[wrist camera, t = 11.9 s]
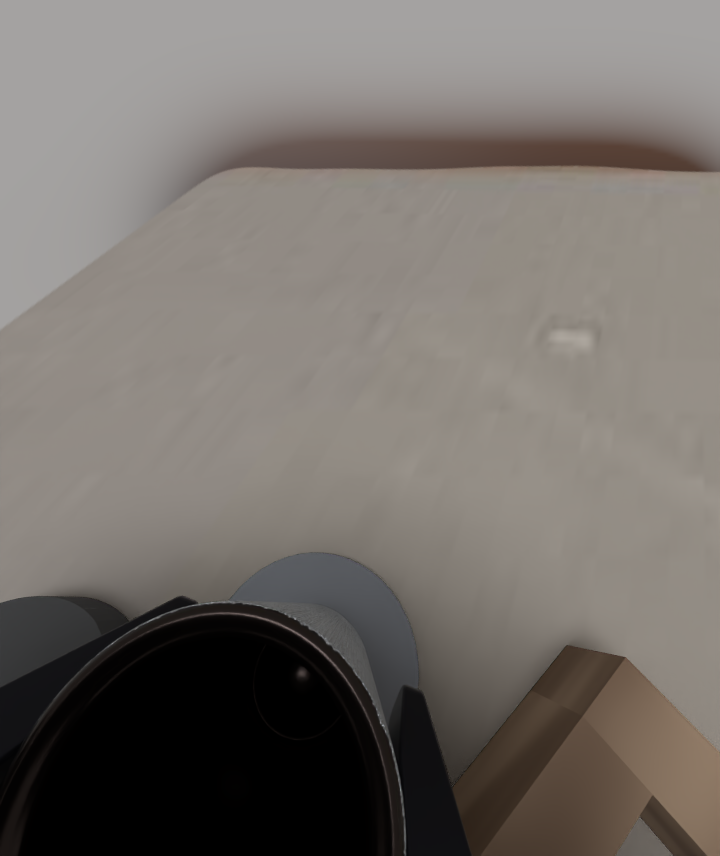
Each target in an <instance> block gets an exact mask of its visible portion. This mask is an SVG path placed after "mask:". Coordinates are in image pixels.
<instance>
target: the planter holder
mask: <svg viewBox="0 0 720 856" xmlns="http://www.w3.org/2000/svg"><path fill="white" fill-rule="evenodd" d="M452 789H453V793H454V796H455V799H456V803H457V806H458V809H459V813H460V816H461V819H462V823H463V826H464V829H465V833H466V836H467V839H468V843H469V846H470V849H471V853H472V856H615V855H616V853H617V852H618V850H619V848H620V847H621V845H622V844H623V842H624V840H625V839H626V837H627V835H628V834H629V832H630V831H631V829H632V827H633V826H634V824H635V823H636V821H637V819H638V818H639V816H640V817H641V818H642V819H643V820H644V822H645V823H646V824H647V825H648V826H649V827H650V829H651V830H652V831H653V832H654V833H655V834H656V835H657V837H658V838H659V839H660V840H661V841H662V842H663V844H664V845H665V846H666V847H667V848H668V849H669V850H670V852H671V853H672V854H673V855H674V856H720V752H719V751H718V750H717V749H716V748H715V747H714V746H713V745H712V744H711V743H710V742H709V741H708V740H707V739H706V738H705V737H704V736H703V735H702V734H701V733H700V732H699V731H698V730H697V729H696V728H695V727H694V726H693V725H692V724H691V723H690V722H689V721H688V720H687V719H686V718H685V717H684V716H683V715H682V714H681V713H680V712H679V711H678V710H677V709H676V708H675V707H674V706H673V705H672V704H671V703H670V702H669V701H668V699H667V698H666V697H665V696H664V695H663V694H662V693H661V692H660V691H659V690H658V689H657V688H656V687H655V686H654V685H653V684H652V683H651V682H650V681H649V680H648V679H647V678H646V677H645V676H644V675H643V674H642V673H641V672H640V671H639V670H638V669H637V668H636V667H635V666H634V665H633V664H632V663H631V662H630V661H629V660H628V659H627V658H626V657H622V656H617V655H612V654H607V653H602V652H597V651H592V650H587V649H582V648H578V647H573V646H568V645H567V646H566V647H565V648H564V650H563V651H562V652H561V653H560V655H559V656H558V657H557V658H556V660H555V661H554V662H553V663H552V665H551V666H550V667H549V668H548V669H547V671H546V672H545V673H544V674H543V676H542V677H541V678H540V679H539V681H538V682H537V683H536V684H535V686H534V687H533V688H532V689H531V691H530V692H529V693H528V694H527V696H526V697H525V698H524V699H523V701H522V702H521V703H520V704H519V706H518V707H517V708H516V709H515V711H514V712H513V713H512V714H511V716H510V717H509V718H508V719H507V720H506V722H505V723H504V724H503V725H502V727H501V728H500V729H499V730H498V732H497V733H496V734H495V735H494V737H493V738H492V739H491V740H490V742H489V743H488V744H487V745H486V747H485V748H484V749H483V750H482V752H481V753H480V754H479V755H478V757H477V758H476V759H475V760H474V762H473V763H472V764H471V765H470V766H469V768H468V769H467V770H466V771H465V773H464V774H463V775H462V776H461V778H460V779H459V780H458V781H457V783H456V784H455V785H454V786H453V788H452Z"/></svg>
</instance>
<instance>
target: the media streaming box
mask: <svg viewBox="0 0 720 856" xmlns="http://www.w3.org/2000/svg"><path fill="white" fill-rule="evenodd" d="M127 622H128V620H127V619H126V618H125V617H124V616H123V615H122V614H121V613H120V612H119V611H118V610H116V609H115V608H113V607H112V606H110V605H108V604H106V603H104V602H101V601H99V600H95V599H91V598H85V597H56V596H34V597H24V598H18V599H14V600H10V601H6V602H3V603H0V687H1V686H3V685H5V684H7V683H9V682H11V681H13V680H15V679H17V678H19V677H21V676H23V675H25V674H27V673H29V672H31V671H33V670H34V669H36V668H38V667H40V666H42V665H44V664H46V663H48V662H50V661H52V660H54V659H56V658H58V657H60V656H62V655H64V654H66V653H68V652H70V651H72V650H74V649H76V648H78V647H80V646H82V645H84V644H86V643H88V642H90V641H92V640H94V639H95V638H97V637H99V636H101V635H103V634H105V633H107V632H109V631H111V630H113V629H115V628H117V627H119V626H121V625H123V624H125V623H127Z"/></svg>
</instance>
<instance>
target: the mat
mask: <svg viewBox="0 0 720 856" xmlns="http://www.w3.org/2000/svg"><path fill="white" fill-rule="evenodd" d="M229 601H263V602H287V603H311V604H318V605H322V606H326V607H328V608H330V609H333V610H334V611H336V612H338V613H339V614H341V615H342V616H343V617H344V618H346V619H347V620H348V621H349V622H350V623H351V625H352V626H353V627H354V628H355V630H356V631H357V633H358V634H359V636H360V638H361V640H362V642H363V645H364V647H365V650H366V653H367V657H368V660H369V664H370V667H371V671H372V675H373V678H374V682H375V685H376V689H377V692H378V696H379V699H380V703H381V706H382V710H383V713H384V717H385V720H386V724H387V727H388V724H389V719H390V715H391V712H392V709H393V706H394V704H395V701H396V699H397V696H398V694H399V692H400V689H401V687H402V686H403V685H405V684H406V685H409V686H411V687H414V688H416V689H418V680H419V671H418V657H417V650H416V644H415V640H414V636H413V633H412V629H411V626H410V624H409V621H408V619H407V616H406V614H405V612H404V610H403V608H402V607H401V605H400V603H399V601H398V600H397V598H396V597H395V595H394V594H393V593H392V591H391V590H390V589H389V588H388V586H387V585H386V584H385V583H384V582H383V581H382V580H381V579H380V578H379V577H378V576H376V575H375V574H374V573H373V572H372V571H370V570H369V569H367V568H366V567H364V566H362V565H361V564H359V563H357V562H355V561H353V560H350V559H348V558H345V557H342V556H338V555H334V554H328V553H304V554H297V555H293V556H289V557H286V558H283V559H281V560H278V561H276V562H273V563H272V564H270V565H268V566H266V567H264V568H263V569H261V570H260V571H258V572H257V573H256V574H254V575H253V576H252V577H250V578H249V579H248V580H247V581H246V582H245V583H244V584H243V585H242V586H241V587H240V588H239V589H238V590H237V591H236V592H235V593H234V595H233V596H232V597H231V598H230V600H229Z"/></svg>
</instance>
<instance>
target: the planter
mask: <svg viewBox="0 0 720 856" xmlns="http://www.w3.org/2000/svg"><path fill="white" fill-rule="evenodd" d="M0 856H406V825H405V812H404V802H403V794H402V788H401V782H400V776H399V771H398V766H397V762H396V757H395V753H394V749H393V745H392V742H391V738H390V734H389V731H388V727H387V724H386V720H385V717H384V713H383V710H382V706H381V703H380V699H379V696H378V692H377V689H376V685H375V682H374V678H373V675H372V671H371V667H370V664H369V660H368V657H367V653H366V650H365V647H364V645H363V642H362V640H361V638H360V636H359V634H358V633H357V631H356V630H355V628H354V627H353V626H352V625H351V623H350V622H349V621H348V620H347V619H346V618H344V617H343V616H342V615H341V614H339V613H338V612H336V611H334V610H333V609H330V608H328V607H326V606H322V605H318V604H311V603H287V602H263V601H216V602H206V603H200V604H194V605H190V606H186V607H182V608H179V609H176V610H173V611H170V612H167V613H165V614H162V615H160V616H158V617H155V618H153V619H151V620H149V621H147V622H145V623H143V624H141V625H139V626H137V627H136V628H134V629H132V630H131V631H129V632H127V633H126V634H124V635H123V636H121V637H120V638H118V639H117V640H116V641H114V642H113V643H111V644H110V645H109V646H107V647H106V648H105V649H104V650H102V651H101V652H100V653H99V654H97V655H96V656H95V657H94V658H93V659H92V660H91V661H89V662H88V663H87V664H86V665H85V666H84V667H83V668H82V669H81V670H80V671H79V672H78V673H77V674H76V675H75V676H74V677H73V678H72V679H71V680H70V681H69V682H68V683H67V684H66V686H65V687H64V688H63V689H62V690H61V691H60V692H59V693H58V695H57V696H56V697H55V698H54V700H53V701H52V702H51V703H50V705H49V706H48V707H47V708H46V710H45V711H44V712H43V714H42V715H41V716H40V718H39V719H38V721H37V722H36V723H35V725H34V726H33V728H32V729H31V731H30V733H29V734H28V736H27V737H26V739H25V740H24V742H23V743H22V745H21V747H20V749H19V750H18V752H17V754H16V756H15V757H14V759H13V761H12V763H11V765H10V766H9V768H8V770H7V772H6V774H5V776H4V778H3V780H2V782H1V784H0Z"/></svg>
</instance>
